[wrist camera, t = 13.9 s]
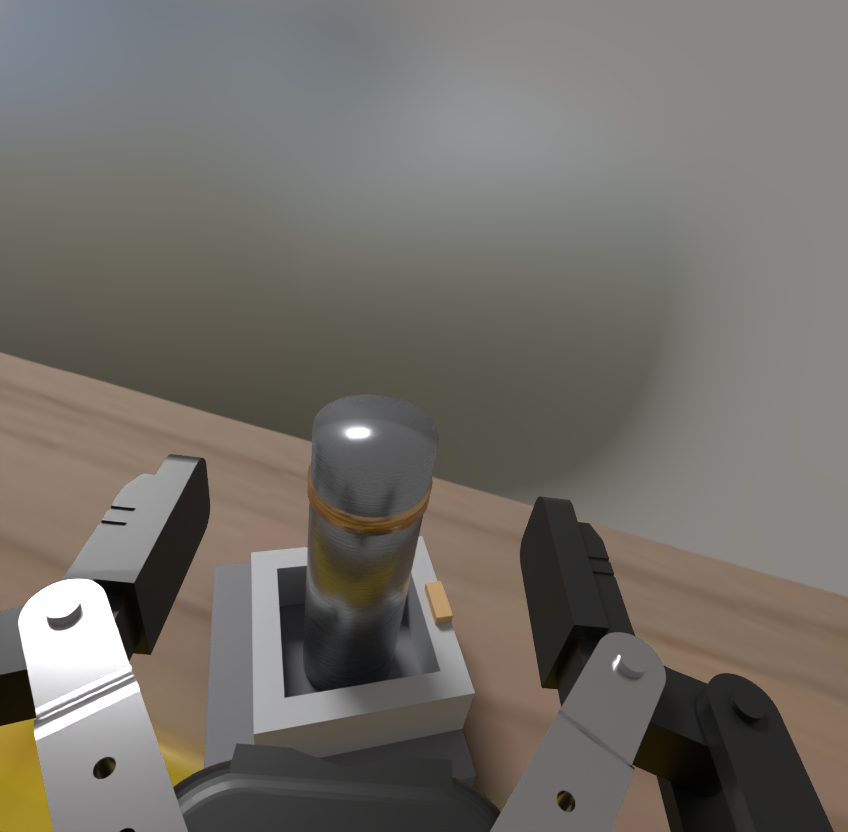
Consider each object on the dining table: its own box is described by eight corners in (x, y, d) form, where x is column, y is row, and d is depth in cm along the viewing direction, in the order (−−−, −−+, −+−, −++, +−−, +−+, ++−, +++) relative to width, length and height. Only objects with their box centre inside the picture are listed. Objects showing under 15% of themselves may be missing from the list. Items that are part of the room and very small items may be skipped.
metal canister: (305, 710, 25) (317, 477, 17) (297, 621, 28) (304, 394, 21) (403, 692, 26) (458, 468, 18) (384, 609, 30) (422, 392, 22)
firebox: (204, 860, 22) (191, 799, 19) (217, 589, 32) (210, 520, 29) (468, 796, 25) (494, 734, 22) (403, 568, 35) (414, 504, 32)
